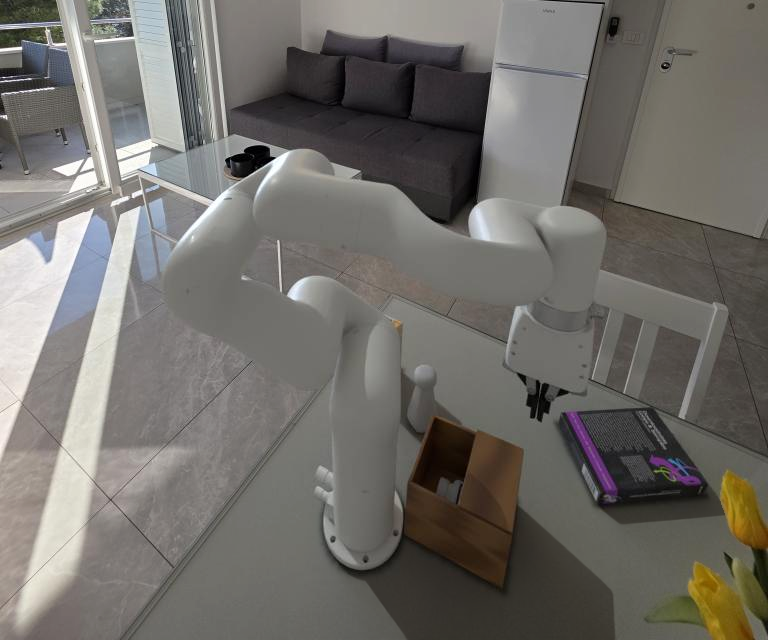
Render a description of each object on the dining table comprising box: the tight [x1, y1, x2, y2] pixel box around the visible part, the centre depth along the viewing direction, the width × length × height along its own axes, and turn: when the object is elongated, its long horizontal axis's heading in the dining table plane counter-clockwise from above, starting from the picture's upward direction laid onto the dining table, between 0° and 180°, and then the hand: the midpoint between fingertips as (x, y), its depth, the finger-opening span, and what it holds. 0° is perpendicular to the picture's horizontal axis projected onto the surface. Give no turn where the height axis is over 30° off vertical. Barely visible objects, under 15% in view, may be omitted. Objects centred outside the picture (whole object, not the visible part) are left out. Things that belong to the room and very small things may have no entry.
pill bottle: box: [436, 477, 464, 505], centre depth 67 cm, size 5×5×10 cm
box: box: [558, 406, 710, 505], centre depth 77 cm, size 14×4×20 cm
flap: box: [458, 429, 525, 533], centre depth 63 cm, size 7×12×1 cm, turn 156°
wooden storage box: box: [403, 414, 525, 590], centre depth 67 cm, size 15×12×12 cm
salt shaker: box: [406, 364, 438, 434], centre depth 81 cm, size 6×6×13 cm
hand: (536, 411), depth 59 cm, fingers closed
